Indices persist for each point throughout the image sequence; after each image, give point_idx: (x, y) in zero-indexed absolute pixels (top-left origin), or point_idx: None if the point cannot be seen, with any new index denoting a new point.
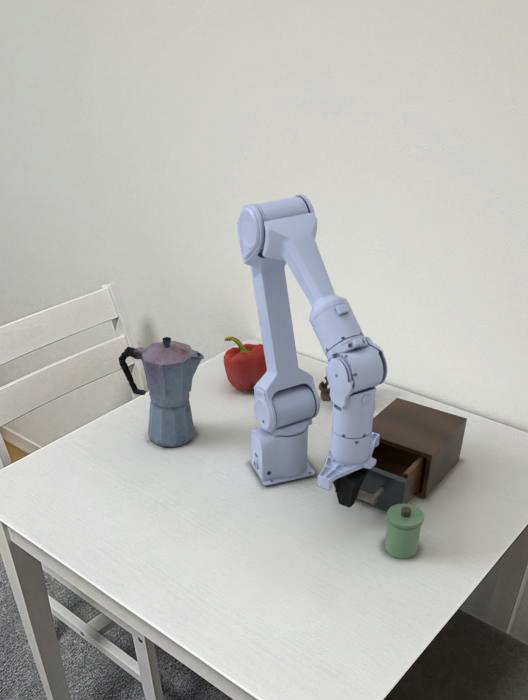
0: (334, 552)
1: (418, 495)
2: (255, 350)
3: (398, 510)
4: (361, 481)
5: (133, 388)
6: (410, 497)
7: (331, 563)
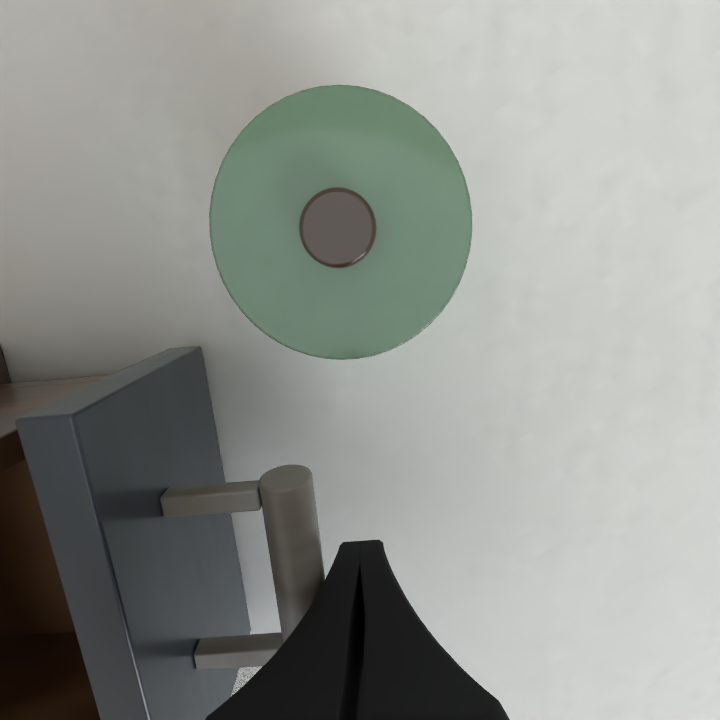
0: (537, 433)
1: (3, 374)
2: None
3: (334, 296)
4: (322, 651)
5: None
6: (57, 382)
7: (599, 406)
